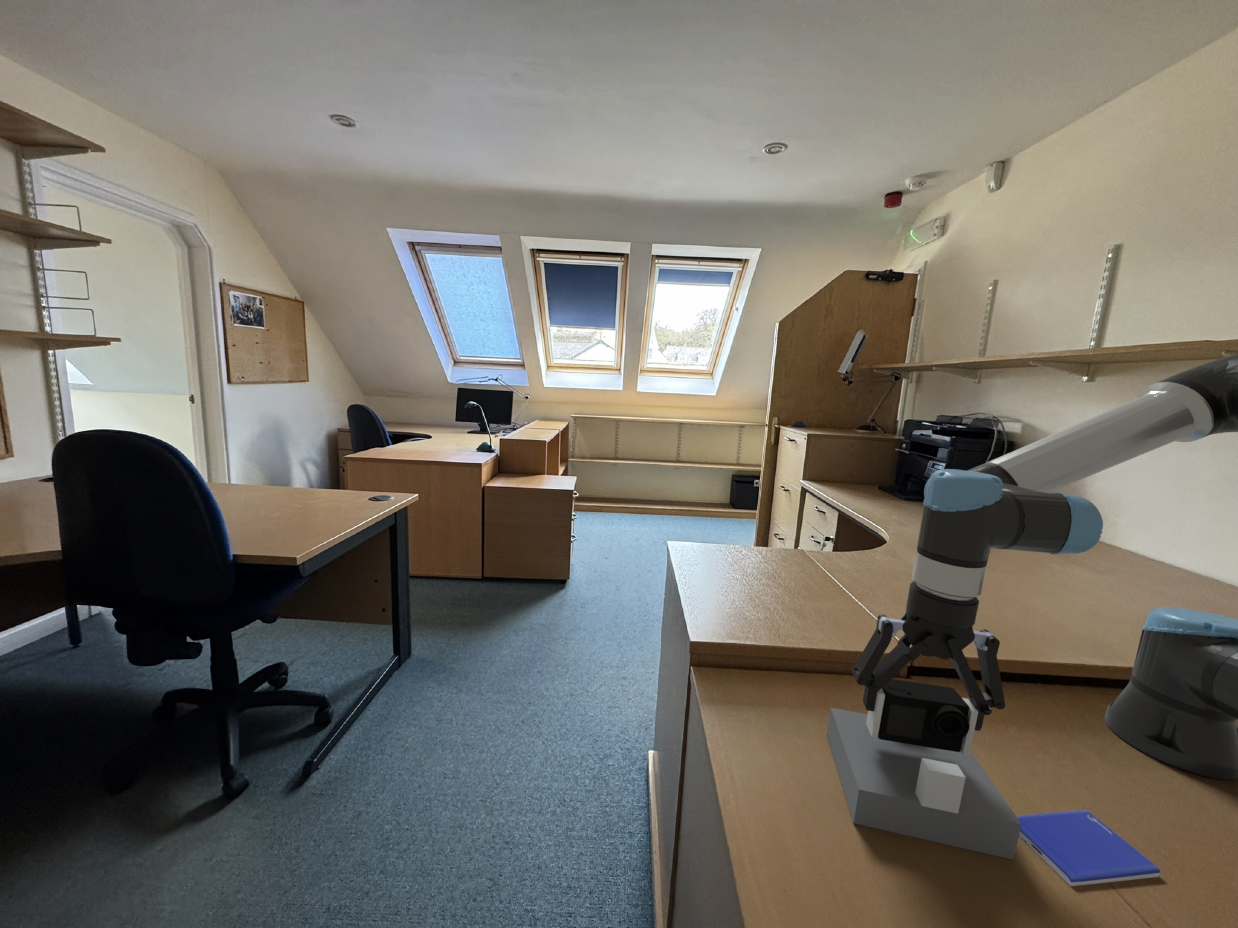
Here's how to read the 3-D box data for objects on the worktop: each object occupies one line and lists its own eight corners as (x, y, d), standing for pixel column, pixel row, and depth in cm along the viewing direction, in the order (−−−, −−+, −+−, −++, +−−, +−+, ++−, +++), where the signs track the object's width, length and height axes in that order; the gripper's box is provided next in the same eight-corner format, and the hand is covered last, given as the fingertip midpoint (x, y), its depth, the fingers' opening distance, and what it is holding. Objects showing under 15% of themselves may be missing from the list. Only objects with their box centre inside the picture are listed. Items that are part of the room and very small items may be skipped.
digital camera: (881, 746, 64) (889, 699, 63) (867, 718, 69) (874, 675, 68) (965, 759, 62) (975, 712, 61) (944, 731, 68) (953, 686, 67)
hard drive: (1085, 808, 64) (1006, 814, 62) (1161, 869, 56) (1072, 878, 54) (1083, 818, 64) (1003, 825, 63) (1158, 880, 56) (1069, 890, 55)
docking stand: (949, 757, 73) (961, 699, 72) (1015, 863, 57) (1032, 790, 55) (825, 733, 77) (834, 677, 75) (854, 826, 60) (866, 757, 59)
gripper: (1027, 589, 63) (994, 737, 67) (842, 565, 68) (821, 704, 71) (1067, 615, 56) (1027, 779, 60) (857, 586, 60) (832, 740, 64)
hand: (915, 738), depth 65 cm, fingers closed on digital camera, 10 cm apart
